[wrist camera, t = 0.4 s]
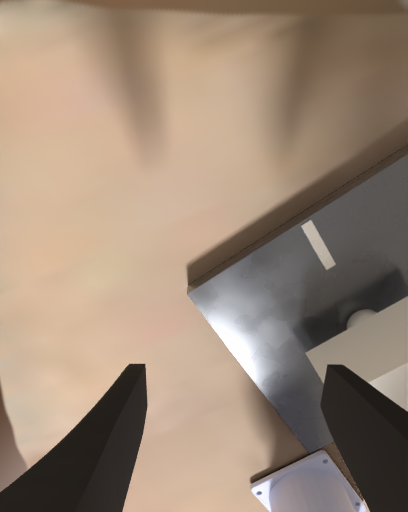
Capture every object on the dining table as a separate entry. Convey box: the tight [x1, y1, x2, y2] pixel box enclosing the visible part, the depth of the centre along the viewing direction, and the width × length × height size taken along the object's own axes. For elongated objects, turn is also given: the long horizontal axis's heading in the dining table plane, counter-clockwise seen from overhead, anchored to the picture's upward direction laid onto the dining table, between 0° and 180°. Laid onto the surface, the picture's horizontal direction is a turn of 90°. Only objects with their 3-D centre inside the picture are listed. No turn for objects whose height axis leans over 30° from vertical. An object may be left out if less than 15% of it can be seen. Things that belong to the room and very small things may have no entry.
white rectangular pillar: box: [306, 296, 408, 411], centre depth 17 cm, size 3×9×6 cm, turn 124°
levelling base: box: [187, 145, 408, 454], centre depth 19 cm, size 18×18×3 cm
